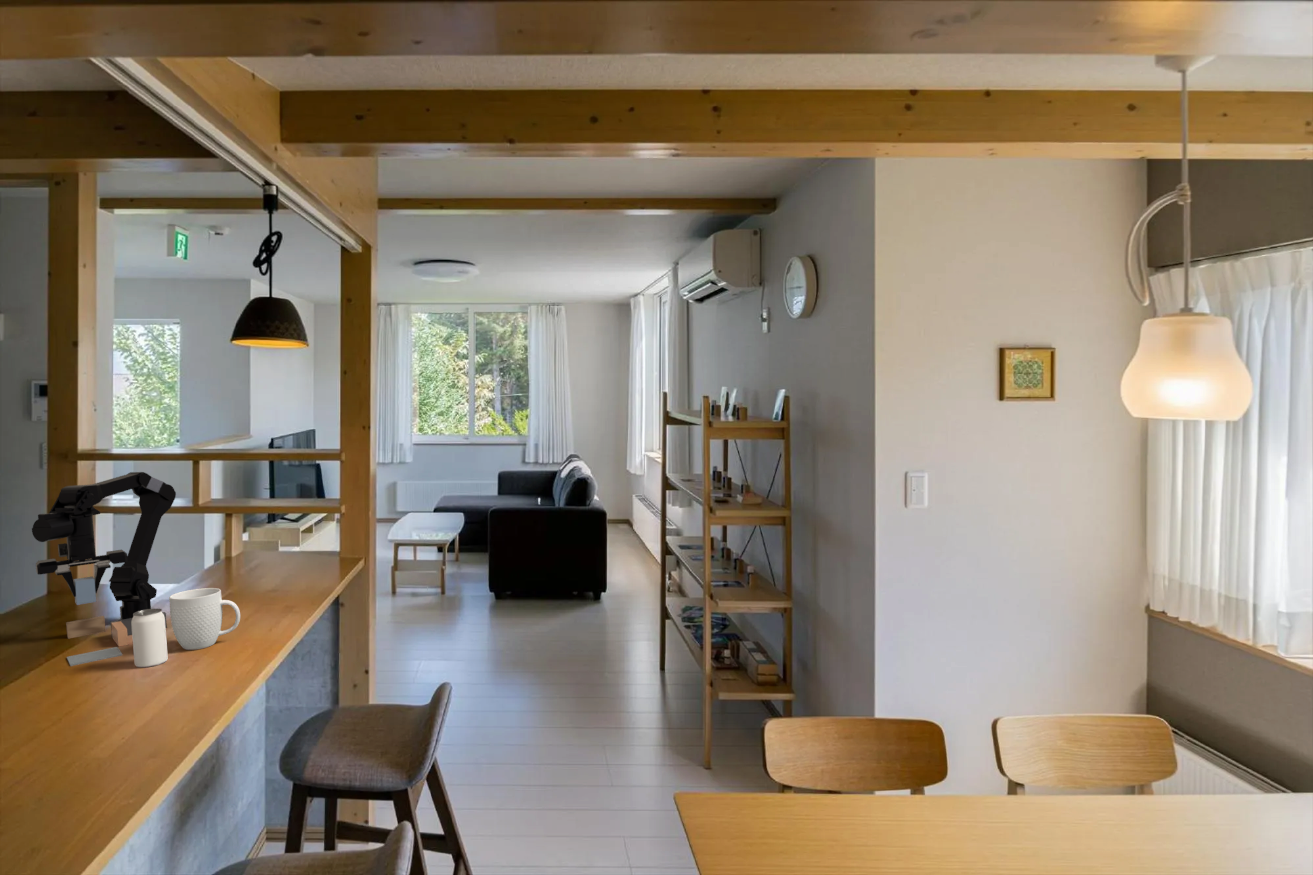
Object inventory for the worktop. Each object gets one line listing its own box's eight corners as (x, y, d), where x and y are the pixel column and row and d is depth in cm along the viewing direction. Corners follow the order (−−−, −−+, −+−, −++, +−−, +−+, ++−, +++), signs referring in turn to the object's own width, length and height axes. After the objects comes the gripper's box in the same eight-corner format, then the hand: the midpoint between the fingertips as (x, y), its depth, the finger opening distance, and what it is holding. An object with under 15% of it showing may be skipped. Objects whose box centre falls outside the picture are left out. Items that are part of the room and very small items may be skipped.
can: (174, 659, 184) (170, 608, 183) (148, 669, 178) (144, 616, 177) (154, 657, 186) (150, 607, 186) (127, 666, 180) (123, 614, 179)
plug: (94, 599, 207) (92, 576, 206) (96, 601, 204) (94, 578, 203) (75, 602, 204) (73, 579, 204) (77, 604, 201) (75, 581, 201)
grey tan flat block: (165, 626, 212) (164, 611, 212) (174, 635, 203) (173, 619, 203) (111, 637, 204) (110, 621, 204) (118, 646, 195) (117, 630, 195)
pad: (117, 648, 194) (117, 646, 194) (122, 655, 188) (122, 653, 188) (66, 658, 188) (66, 656, 188) (70, 666, 182) (70, 664, 182)
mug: (245, 634, 202) (241, 583, 202) (238, 646, 192) (234, 593, 191) (178, 642, 197) (174, 591, 197) (168, 655, 187) (163, 601, 186)
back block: (104, 630, 211) (103, 615, 211) (105, 631, 210) (104, 617, 210) (67, 637, 206) (66, 622, 206) (68, 639, 204) (66, 623, 204)
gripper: (119, 526, 215) (123, 583, 216) (31, 536, 203) (36, 596, 204) (125, 530, 207) (130, 589, 208) (35, 541, 195) (40, 604, 195)
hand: (85, 594), depth 204 cm, fingers closed on plug, 4 cm apart
